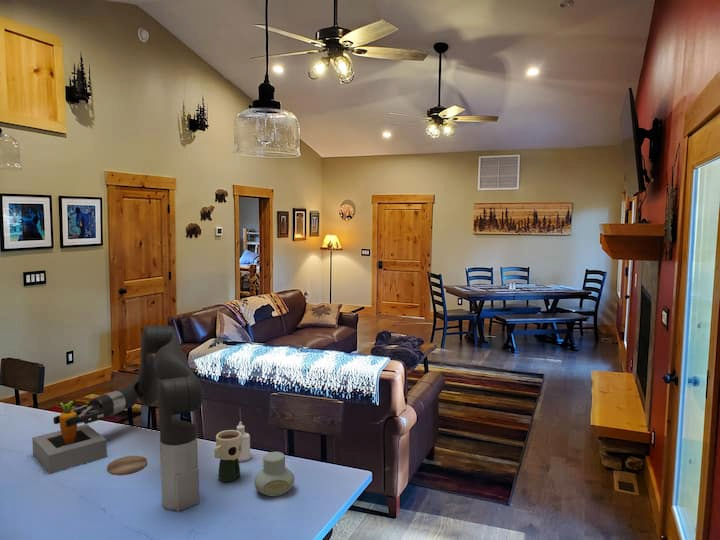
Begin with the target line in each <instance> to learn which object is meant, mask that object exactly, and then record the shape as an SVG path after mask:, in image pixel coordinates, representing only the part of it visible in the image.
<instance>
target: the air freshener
mask: <svg viewBox="0 0 720 540" xmlns="http://www.w3.org/2000/svg"><path fill="white" fill-rule="evenodd" d="M262 459H263V463H262V464H263V468H262V469H261V470H260V471H258V473H256V474H255V477H254V481H253V484H254V487H255V488H256V490H257V491H258V492H259V493H261V494H263V495H265V496H269V497H270V496H271V497H279V496H281V495H283V494H285V493H288V492H289V491H290V490H291V489H292V488H293V485H294V484H295V474H294V473H293V471H292V470H291V469H289V468H288V467H286V455H285V454H284V453H283V452H281V451H270V452H268V453H266V454H265V455H264V456H263V458H262Z"/></svg>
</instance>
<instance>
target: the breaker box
mask: <svg viewBox="0 0 720 540" xmlns="http://www.w3.org/2000/svg"><path fill="white" fill-rule="evenodd" d="M31 441H32V455H33V456H34V457H35V459H36V460H37V461H38V462H39V463H40V464H41V466H42V467H43V466H44V467H45V468H44V467H43V468H44V469H45V470H46V471H47V473H49V474H50V475H51V474H54V472H55V473H58V472H60V470H62V471H64V470H63V469H65V470H67V468H68V469H72V468H74V466H75V467H78V466H82V465H84V463H85V464H87V462H88V463H92V462H95V461H99V460H101V459H105V458H108V450H107V446H108V445H107V439H106V438H105V437H103V436H102V435H101V434H100V433H99V432H97V431H96V430H95V429H93V428H92V427H91V426H90V425H89V424H82V425H81V424H80V425H77V432H76V437H75V440H74V442H73V443H74V444H70V445H67V444H66V443H65V441H64V439H63V437H62V433H61V430H57V431H53V432H49V433H45V434H41V435H36V436H33V437H32V439H31ZM64 445H67V446H64ZM61 446H63V447H61ZM91 461H92V462H91ZM81 464H82V465H81ZM77 465H78V466H77ZM71 467H72V468H71ZM57 471H58V472H57Z"/></svg>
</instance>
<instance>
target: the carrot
mask: <svg viewBox="0 0 720 540" xmlns="http://www.w3.org/2000/svg"><path fill="white" fill-rule="evenodd" d="M73 404H74V401H73V400H70V401H68V402H67V403H65V404H64V403H63V402H60V403H59V405H60V406H61V408H62V409H63V410H64V411H65V412H64V413H60V414H59V415H60V416H59V415H58V416H59V421H60V423H59V428H60V431H61V433H62V437H63V439H64V441H65V443H66V444H67V445H70V444H73V442H74V440H75V437H76V432H77V426H78V424H75V425H73V426H70V427H66V424H65V421H66V420H68V419H70V418H73V417H76V416H77V413H75V412H74V411H71V410H72V409H73V408H74V407H72V406H73Z"/></svg>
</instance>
